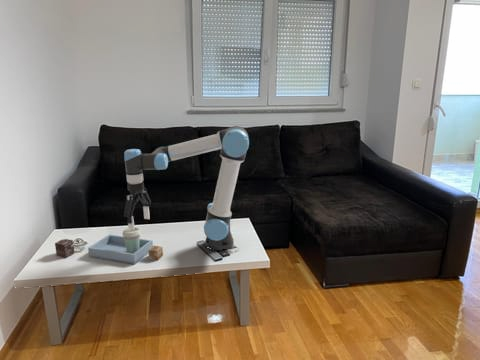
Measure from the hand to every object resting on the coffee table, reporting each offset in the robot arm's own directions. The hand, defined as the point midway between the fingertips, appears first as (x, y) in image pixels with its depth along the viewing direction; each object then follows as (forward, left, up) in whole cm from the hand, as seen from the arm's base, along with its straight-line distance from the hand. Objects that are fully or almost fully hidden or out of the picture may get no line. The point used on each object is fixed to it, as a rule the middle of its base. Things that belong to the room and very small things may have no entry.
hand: (139, 223), depth 185 cm
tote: (+11, +1, -17) cm, 21 cm away
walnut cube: (-8, 0, -17) cm, 19 cm away
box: (+37, +11, -17) cm, 43 cm away
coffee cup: (+5, 0, -16) cm, 17 cm away
